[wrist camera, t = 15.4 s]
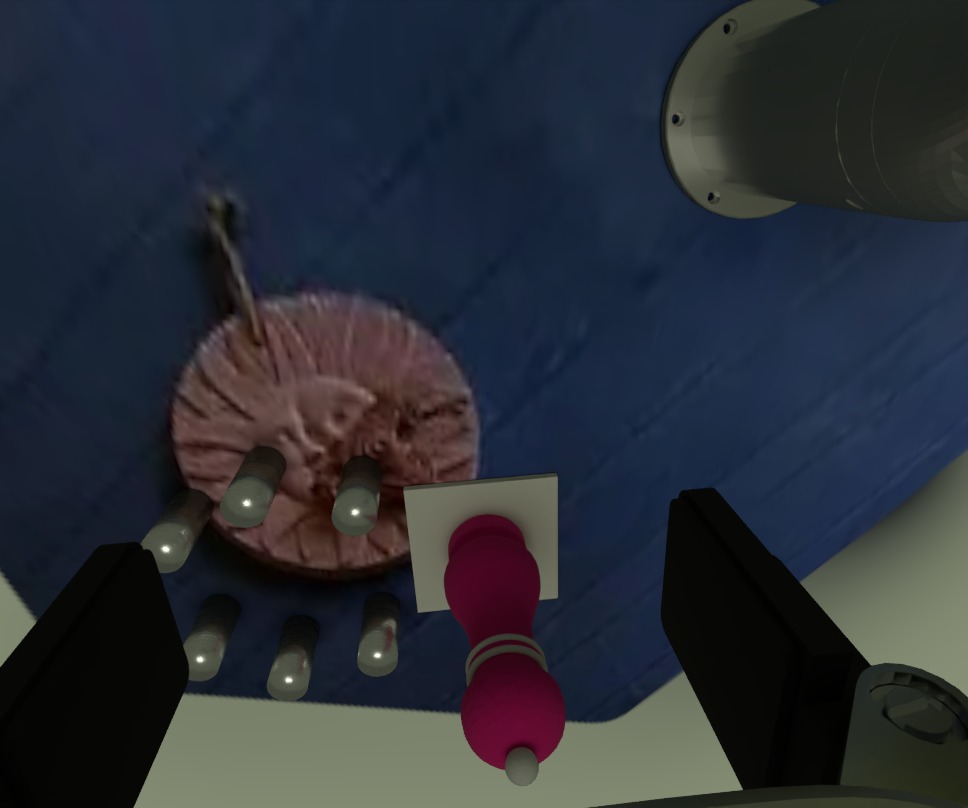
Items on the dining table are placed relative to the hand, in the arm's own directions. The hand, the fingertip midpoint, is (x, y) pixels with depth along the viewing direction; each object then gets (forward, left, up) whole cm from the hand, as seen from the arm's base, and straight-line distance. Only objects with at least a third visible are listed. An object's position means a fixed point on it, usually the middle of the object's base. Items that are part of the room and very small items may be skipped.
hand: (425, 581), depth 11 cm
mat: (-3, +23, -32) cm, 40 cm away
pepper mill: (-3, +23, -32) cm, 39 cm away
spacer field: (+13, +22, -32) cm, 41 cm away
